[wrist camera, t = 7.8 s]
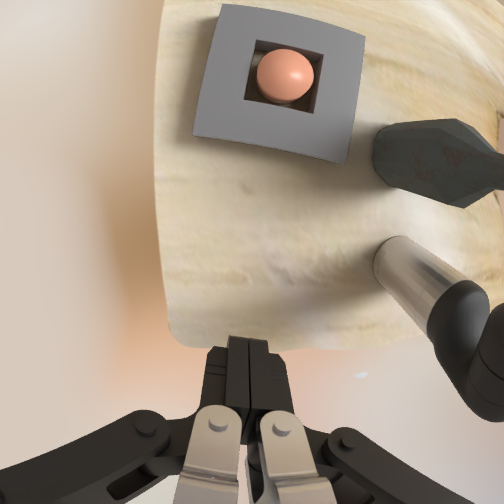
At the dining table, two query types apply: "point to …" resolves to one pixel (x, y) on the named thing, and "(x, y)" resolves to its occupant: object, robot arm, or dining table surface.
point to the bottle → (439, 161)
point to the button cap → (284, 76)
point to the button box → (271, 116)
